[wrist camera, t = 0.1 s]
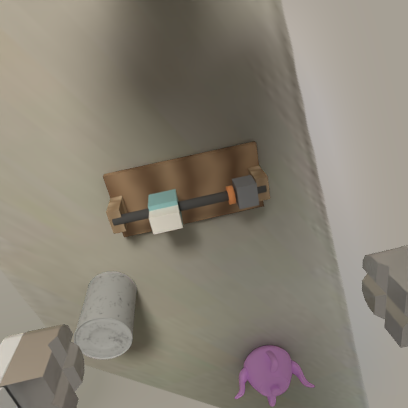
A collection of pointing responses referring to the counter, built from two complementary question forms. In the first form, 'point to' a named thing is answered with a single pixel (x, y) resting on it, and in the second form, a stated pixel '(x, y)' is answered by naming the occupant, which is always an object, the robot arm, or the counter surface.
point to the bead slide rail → (210, 199)
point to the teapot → (269, 372)
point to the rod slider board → (183, 184)
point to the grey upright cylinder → (107, 316)
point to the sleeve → (164, 212)
